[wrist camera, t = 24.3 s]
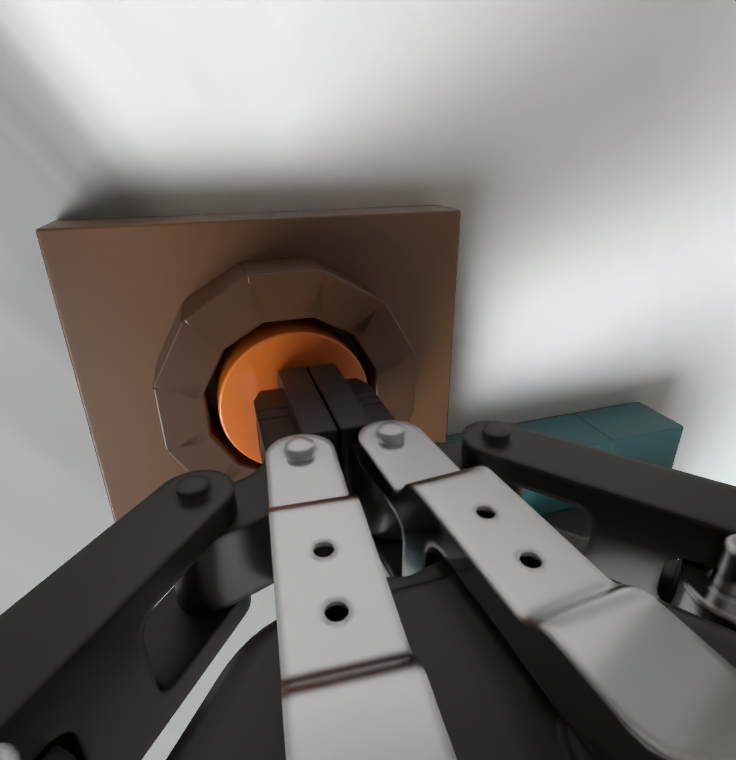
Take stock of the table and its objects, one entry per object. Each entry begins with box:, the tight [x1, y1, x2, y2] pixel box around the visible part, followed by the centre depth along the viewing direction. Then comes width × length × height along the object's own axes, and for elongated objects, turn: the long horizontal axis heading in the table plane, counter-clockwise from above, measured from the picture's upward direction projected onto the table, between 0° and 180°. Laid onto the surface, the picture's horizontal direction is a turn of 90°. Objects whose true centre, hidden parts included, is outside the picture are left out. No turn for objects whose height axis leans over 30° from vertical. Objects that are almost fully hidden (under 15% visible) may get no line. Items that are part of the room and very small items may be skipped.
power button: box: [216, 318, 367, 463], centre depth 14 cm, size 4×4×2 cm
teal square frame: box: [446, 402, 683, 516], centre depth 22 cm, size 12×12×2 cm
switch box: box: [36, 205, 461, 522], centre depth 15 cm, size 11×9×4 cm
